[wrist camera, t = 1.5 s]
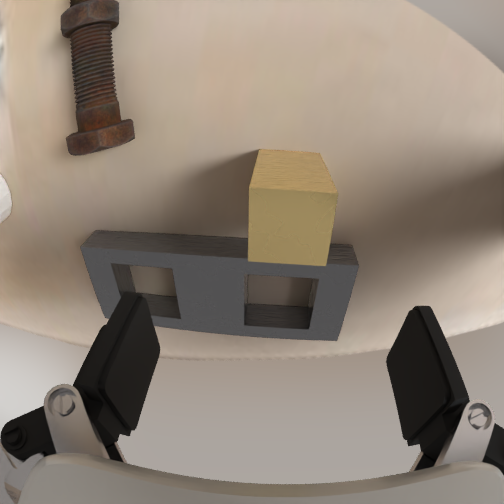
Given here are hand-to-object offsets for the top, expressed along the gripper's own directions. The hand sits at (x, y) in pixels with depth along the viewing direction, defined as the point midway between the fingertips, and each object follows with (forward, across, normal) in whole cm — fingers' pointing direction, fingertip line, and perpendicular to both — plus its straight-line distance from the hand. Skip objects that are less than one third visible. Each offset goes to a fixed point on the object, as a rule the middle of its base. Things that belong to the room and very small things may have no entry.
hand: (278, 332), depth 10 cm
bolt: (+16, +13, -11) cm, 23 cm away
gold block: (+15, -1, 0) cm, 15 cm away
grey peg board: (+15, +5, +10) cm, 19 cm away
